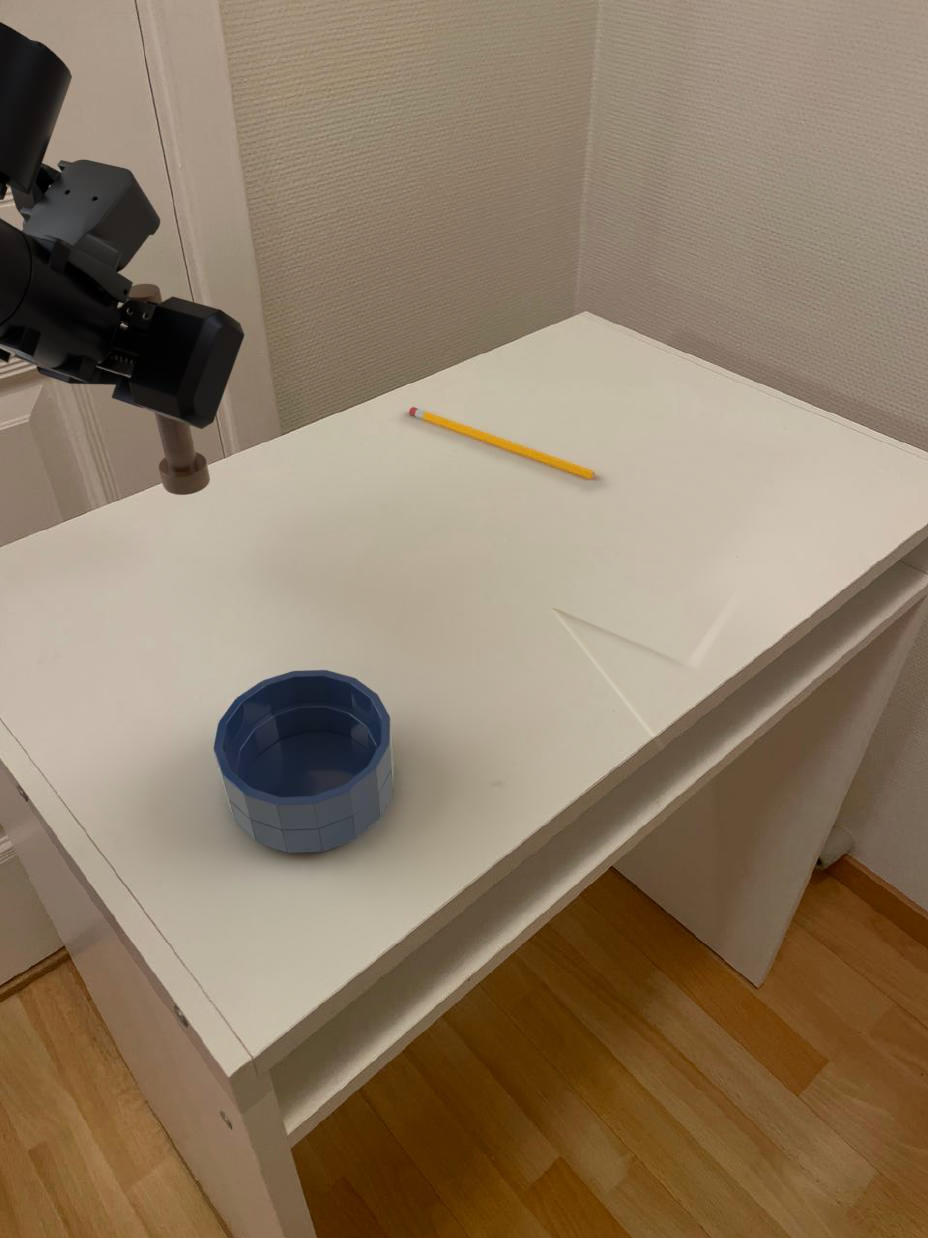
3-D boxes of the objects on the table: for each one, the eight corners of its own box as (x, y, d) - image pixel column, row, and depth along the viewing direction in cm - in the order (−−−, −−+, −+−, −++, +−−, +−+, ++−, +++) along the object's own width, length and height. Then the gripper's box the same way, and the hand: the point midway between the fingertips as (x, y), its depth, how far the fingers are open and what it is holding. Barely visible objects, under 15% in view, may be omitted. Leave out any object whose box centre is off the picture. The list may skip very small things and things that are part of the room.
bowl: (256, 884, 50) (241, 830, 46) (211, 757, 56) (196, 700, 53) (419, 822, 53) (416, 766, 49) (360, 707, 59) (354, 651, 56)
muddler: (166, 499, 64) (117, 305, 55) (160, 473, 66) (111, 283, 57) (213, 489, 65) (173, 297, 55) (206, 465, 67) (166, 276, 58)
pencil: (413, 412, 85) (413, 405, 84) (594, 476, 78) (595, 469, 77) (408, 416, 84) (408, 409, 84) (589, 481, 77) (590, 474, 77)
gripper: (186, 153, 44) (341, 295, 58) (-86, 96, 50) (115, 237, 65) (105, 381, 44) (279, 465, 58) (-155, 295, 50) (60, 390, 65)
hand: (180, 381), depth 62 cm, fingers closed on muddler, 2 cm apart
